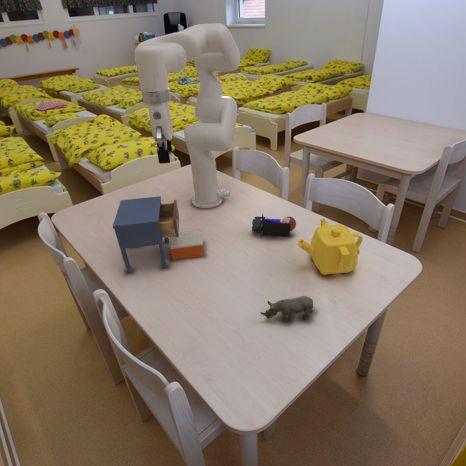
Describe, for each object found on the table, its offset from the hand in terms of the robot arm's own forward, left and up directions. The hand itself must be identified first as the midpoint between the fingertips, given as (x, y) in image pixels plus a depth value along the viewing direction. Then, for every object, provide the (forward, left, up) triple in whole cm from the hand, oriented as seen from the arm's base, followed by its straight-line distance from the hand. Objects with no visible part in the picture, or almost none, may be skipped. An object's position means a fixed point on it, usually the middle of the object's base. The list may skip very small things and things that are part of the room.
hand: (166, 157), depth 101 cm
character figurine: (-32, +5, -29) cm, 44 cm away
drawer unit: (+10, +9, -29) cm, 32 cm away
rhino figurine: (-27, +42, -29) cm, 58 cm away
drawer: (+4, +9, -19) cm, 21 cm away
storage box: (-3, +9, -29) cm, 31 cm away
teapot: (-44, +24, -29) cm, 58 cm away
